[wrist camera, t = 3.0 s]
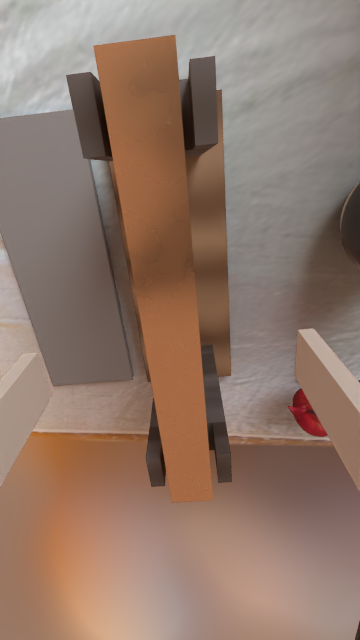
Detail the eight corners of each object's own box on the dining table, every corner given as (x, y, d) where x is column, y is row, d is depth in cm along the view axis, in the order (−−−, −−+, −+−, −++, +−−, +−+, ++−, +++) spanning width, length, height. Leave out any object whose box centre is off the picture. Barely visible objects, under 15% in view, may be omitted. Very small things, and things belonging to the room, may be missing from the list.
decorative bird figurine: (276, 353, 38) (305, 412, 29) (382, 412, 41) (437, 479, 32) (261, 370, 39) (285, 432, 30) (366, 426, 43) (415, 495, 34)
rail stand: (103, 107, 27) (5, 33, 12) (219, 93, 26) (267, -2, 12) (149, 374, 39) (128, 501, 24) (229, 368, 39) (258, 493, 24)
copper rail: (114, 75, 15) (93, 45, 11) (177, 67, 15) (175, 34, 11) (173, 456, 26) (171, 502, 23) (208, 454, 26) (213, 500, 23)
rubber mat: (-31, 124, 27) (-37, 122, 27) (80, 110, 27) (77, 108, 26) (55, 381, 40) (53, 385, 39) (133, 375, 39) (132, 379, 38)
